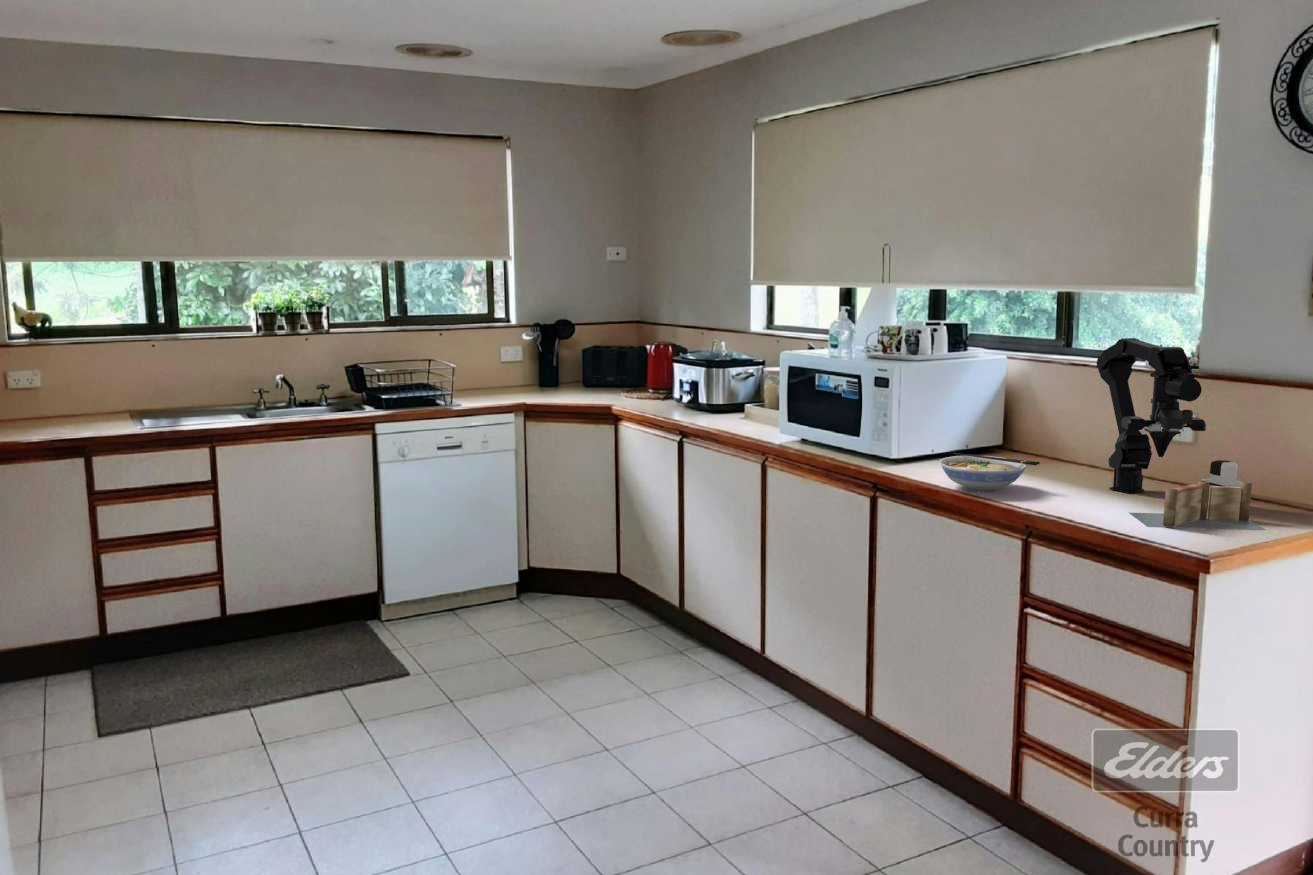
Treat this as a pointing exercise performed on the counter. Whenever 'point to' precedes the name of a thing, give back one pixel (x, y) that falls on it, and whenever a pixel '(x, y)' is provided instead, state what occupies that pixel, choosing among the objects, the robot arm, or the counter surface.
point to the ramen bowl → (983, 471)
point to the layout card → (1195, 522)
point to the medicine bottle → (1223, 474)
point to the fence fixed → (1225, 502)
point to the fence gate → (1182, 504)
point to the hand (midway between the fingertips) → (1160, 456)
